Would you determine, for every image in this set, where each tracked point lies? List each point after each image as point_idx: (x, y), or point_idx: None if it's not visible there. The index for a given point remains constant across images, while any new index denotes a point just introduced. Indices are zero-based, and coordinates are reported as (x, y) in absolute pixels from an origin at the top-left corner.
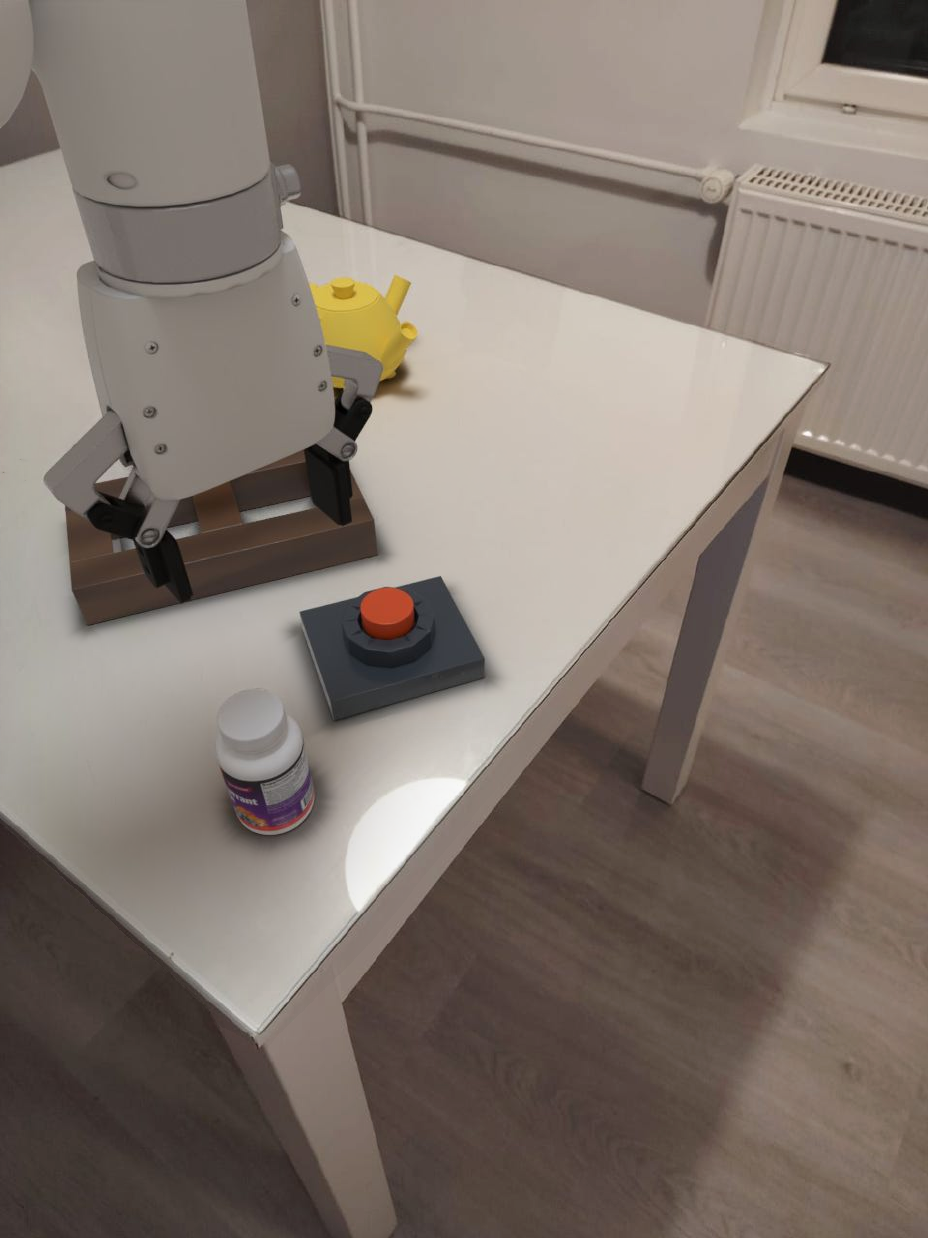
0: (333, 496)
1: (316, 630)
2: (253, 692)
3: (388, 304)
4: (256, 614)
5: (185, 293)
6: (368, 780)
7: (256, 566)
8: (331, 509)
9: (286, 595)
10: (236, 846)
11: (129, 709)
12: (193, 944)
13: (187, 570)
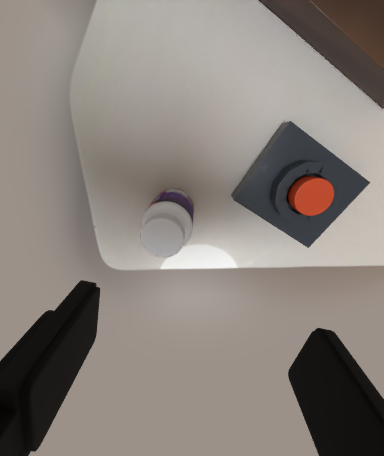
0: (310, 420)
1: (280, 147)
2: (175, 228)
3: None
4: (280, 76)
5: None
6: (211, 234)
7: (322, 37)
8: (301, 379)
9: (309, 79)
10: (145, 210)
11: (160, 76)
12: (104, 230)
13: None
